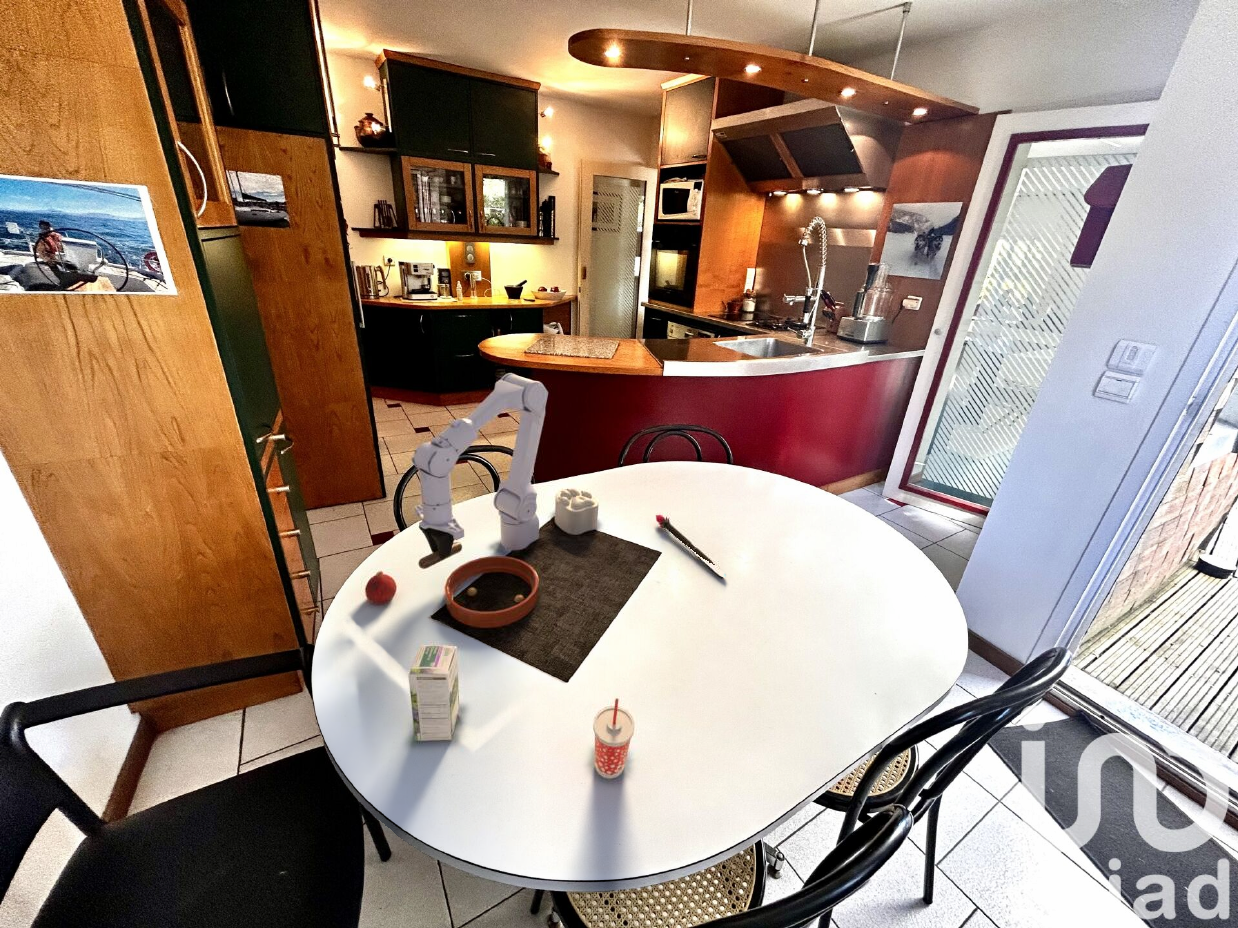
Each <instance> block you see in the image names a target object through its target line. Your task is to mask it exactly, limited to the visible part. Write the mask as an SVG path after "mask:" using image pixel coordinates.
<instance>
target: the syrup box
mask: <svg viewBox="0 0 1238 928" xmlns="http://www.w3.org/2000/svg"><path fill="white" fill-rule="evenodd" d="M457 648H458V647H457V646H455V645H442V644H426V645H420V646H419V647H418V649H417V653H416V655H415V657H414V660H413V662H412V666H411V668H410V671H409V673H408V686H409V695H410V705H411V713H412V722H413V723H412V725H413V734H414V741H416V742H418V741H419V742H420V741H421V742H425V741H427V742H429V741H452V740H453V737H454V733H455V729H456V724H457V721H458V717H459V714H458V712H459V708H460V691H459V690H460V689H459V687H460V686H459V668H458V652H457V651H458V649H457Z"/></svg>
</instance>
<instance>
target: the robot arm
mask: <svg viewBox="0 0 1238 928" xmlns="http://www.w3.org/2000/svg"><path fill="white" fill-rule="evenodd" d="M548 396H549V391H548V390H547V388H546V387H545V386H544V384H543V383H542V382H541V381H538V380H532V379H530V378H525V377H523V376H519V375H517V374H515V373H512V372H508V373H505V374H504V375H503V376H502V377H501V378H500V379H499V380H498V381H496V382H495V383H494V389H493V391H492V392H491V393H490V394H489V395H488V396H486V397H485V399H484V400H482V402H481V403H480V404H479V405H478V406H477V407H476V408H475V409H473V411H472V412H471V413H470V414H469V415H468V416H467V417H465V418H462V417H458V418H456V419H453V420H452V421H451V422H449V425H448V426H447V427H446V428H445V429H444V430H443V431H441V432H440V433H439V434H438V435H437V436H434V437H433V439H432V440H431V441H427V442H423V443H421V444H419V445H418V446H417V448H416V449H415V450H414V453H413V456H412V457H411V462H412V464H413V466H414V467H416V468H417V470H418V475H419V481H420V495H421V504H419V505H416V506H414V507H413V509H414V515H415V516H417V517H419V518H420V520H421V521H420V522H418V529H419V530H420V531H421V532H422V534H423V535H424V537H425V539H426V541H427V543H428V546H429V548H430V551H431V552H432V553H434V552H436V551H438V553H439V556H440V558H441V559H444V558H446V557H448V556H450V554H451V549H452V545H453V543H455V541H458V540H461V539H462V538H464V537H465V529H464V528H463V527H462V526H461V525H460V523H459V522H458V520H457V519H456V517H455V516H454V513H453V503H452V502H453V501H452V499H453V498H452V485H451V484H452V483H451V473H452V472H453V471H454V469H455V467H456V464H457V462H458V460H459V458H460V456H461V454H463V453H464V452H465V451H466V450H467V449H468V448H470V447H471V446H472V444H473V443H475V442H476V441H477V440H478V438H479V430H481V429H482V428H484V427H485V426H486V425H488V424H489V423H490V422H492V420H494V419H495V418H496V417H498V415H500V414H502V413H504V411H505V410H515V411H516V412H517V413H518V415H519V417H520V418H519V421H518V422H519V423H518V426H517V427H518V428H517V433H516V437H515V442H514V447H513V451H512V457H511V463H510V468H509V471H508V477H507V478H506V479H505V480H502V481H500V483H499V487H498V489H497V491H496V493H495V494H494V497H493V502H492V503H493V507H494V509H496V510H497V511H498V515H499V517H500V519H499V523H500V546H502V548H503V549H506V550H508V551H520V550H523V549H526V548H527V547H528V546H530V544H532V543H533V542H536V541H537V540H538V539H540V520H539V517H538V515H537V513H536V512H537V508H538V505H537V497H538V493H537V491H536V490H535V488H534V486H533V484H532V482H531V481H532V478H533V472H534V468H535V465H536V464H535V463H536V458H537V455H538V450H539V444H540V439H541V435H542V431H543V427H544V421H545V417H546V406H547V400H548Z"/></svg>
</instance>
